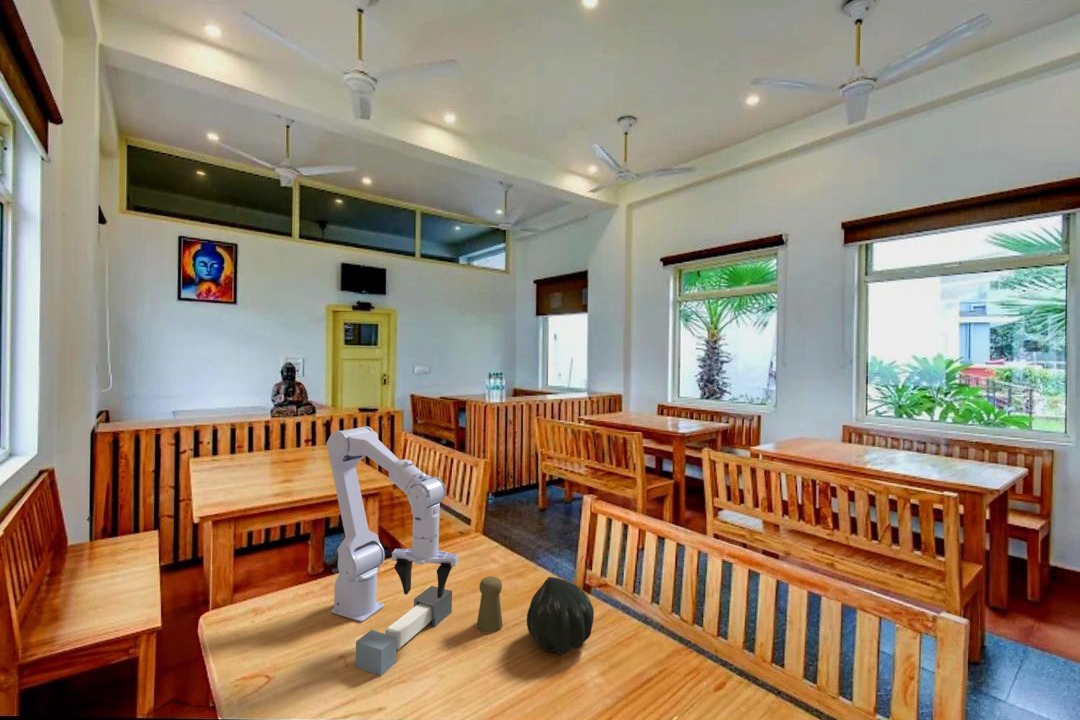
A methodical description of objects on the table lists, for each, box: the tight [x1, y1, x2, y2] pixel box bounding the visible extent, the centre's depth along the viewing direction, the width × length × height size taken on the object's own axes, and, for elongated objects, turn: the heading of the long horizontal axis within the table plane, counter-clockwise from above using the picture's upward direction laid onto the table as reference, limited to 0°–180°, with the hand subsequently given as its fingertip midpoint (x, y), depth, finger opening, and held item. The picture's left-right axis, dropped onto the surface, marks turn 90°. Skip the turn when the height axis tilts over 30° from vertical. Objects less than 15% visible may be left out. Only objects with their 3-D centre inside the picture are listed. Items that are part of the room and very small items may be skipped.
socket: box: [355, 629, 397, 677], centre depth 100 cm, size 6×4×5 cm
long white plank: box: [384, 602, 433, 650], centre depth 113 cm, size 4×19×4 cm, turn 157°
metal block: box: [413, 585, 453, 627], centre depth 119 cm, size 6×7×5 cm
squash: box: [526, 576, 595, 655], centre depth 110 cm, size 14×15×15 cm
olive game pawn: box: [476, 575, 504, 634], centre depth 115 cm, size 6×6×11 cm
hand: (423, 594), depth 111 cm, fingers open, 7 cm apart
